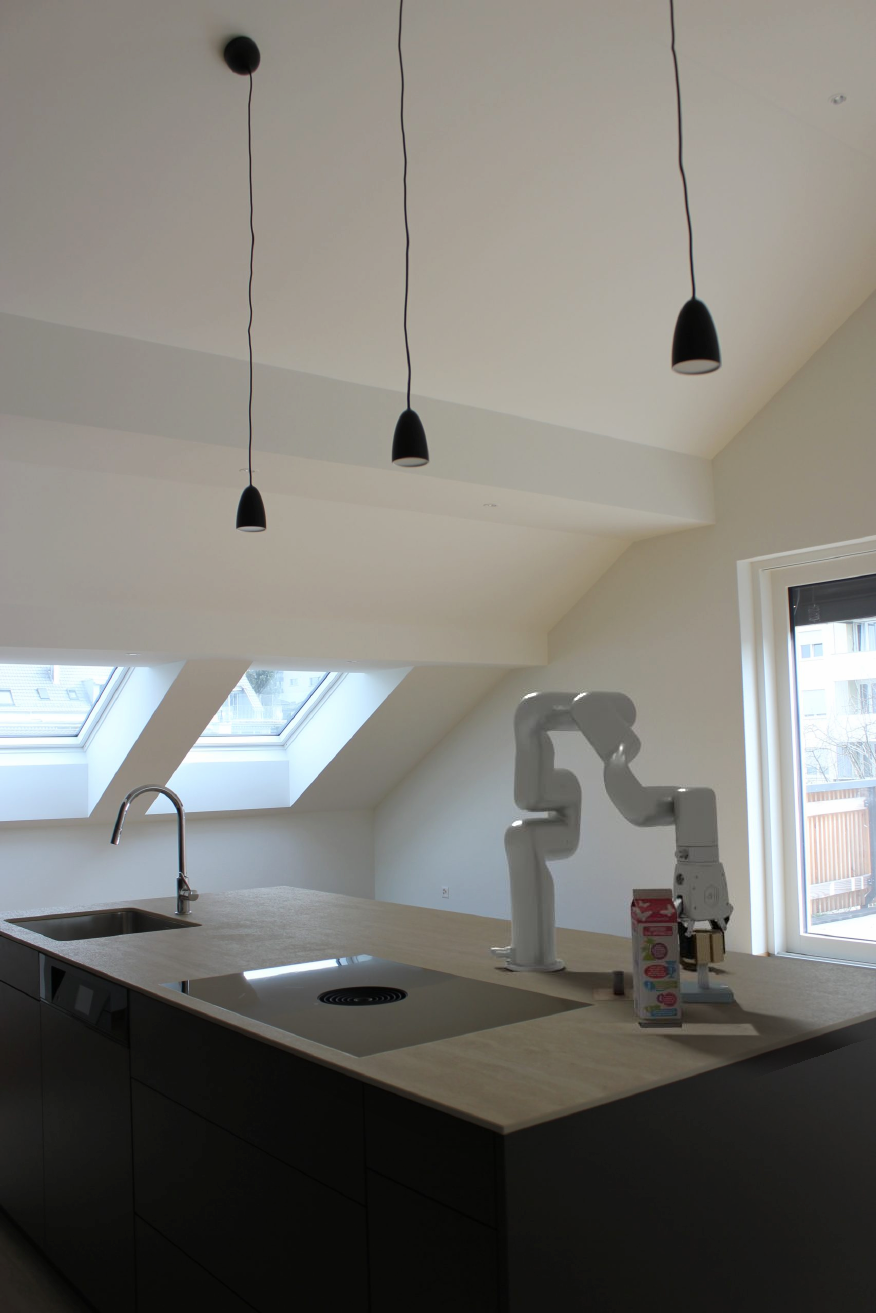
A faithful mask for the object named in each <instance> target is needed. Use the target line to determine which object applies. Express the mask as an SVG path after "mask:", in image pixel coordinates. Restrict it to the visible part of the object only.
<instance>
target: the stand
mask: <svg viewBox="0 0 876 1313" xmlns="http://www.w3.org/2000/svg"><path fill="white" fill-rule="evenodd" d="M592 989H593V990H592V991H593V995H594V996H593V998H594V1001H634V988H625V972H624V971H623V970H612V988H592Z"/></svg>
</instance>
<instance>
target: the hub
mask: <svg viewBox="0 0 876 1313" xmlns="http://www.w3.org/2000/svg"><path fill="white" fill-rule="evenodd" d="M696 974H697V976H696V977H697V981H680V990H681V1003H735V993H734V991H733V990H732V989H731V988H730V986H729V985H728V984H727V983H726V982H725V981H710V974H709V964H697V969H696Z"/></svg>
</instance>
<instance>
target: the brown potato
mask: <svg viewBox="0 0 876 1313" xmlns="http://www.w3.org/2000/svg"><path fill="white" fill-rule="evenodd" d="M697 964H698V963H690V962H685V961H684V960H683V958H681V957H680V953H679V966H681V967H682V968H683V969H685V970H689V971H690V970H691V971H694V970H696V971H697Z"/></svg>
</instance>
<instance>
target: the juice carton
mask: <svg viewBox="0 0 876 1313" xmlns="http://www.w3.org/2000/svg"><path fill="white" fill-rule="evenodd" d="M630 928H631V930H630V931H631V953H632V955H631V957H632V979H633V982H632V983H633V989H634V1000H633V1003H634V1004H633V1005H634V1010H635V1012H636V1014H637V1016H639V1018H640V1019H641V1020H643V1019H644V1020H646V1019H647V1020H648V1019H651V1020H652V1019H658V1020H659V1019H663V1020H664V1019H682V1016H683V1015H682V1014H683V1012H682V1002H681V990H680V982H681V970H680V969H681V968H680V964H679V935H678V920H677V910H676V907H675V905H674V903H673V889H672V888H632V901H631V904H630ZM637 1024H638V1025H639V1027H640V1028H641V1029H657V1028H658V1029H661V1028H662V1029H664V1028H666V1029H667V1028H668V1029H669V1028H670V1029H671V1028H672V1029H674V1028H677V1029H678V1028H683V1023H682V1022H648V1021H647V1022H645V1021H644V1022H643V1021H642V1022H641V1021H638V1022H637Z"/></svg>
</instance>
